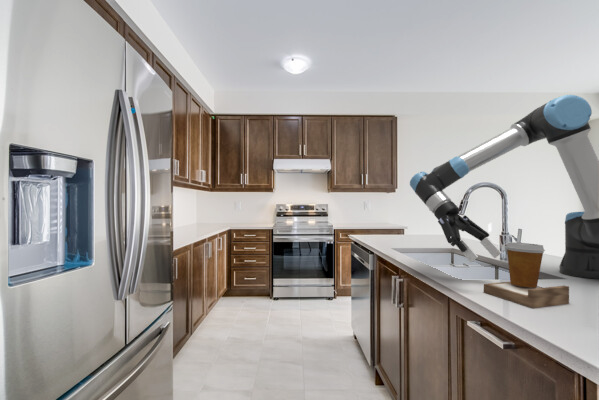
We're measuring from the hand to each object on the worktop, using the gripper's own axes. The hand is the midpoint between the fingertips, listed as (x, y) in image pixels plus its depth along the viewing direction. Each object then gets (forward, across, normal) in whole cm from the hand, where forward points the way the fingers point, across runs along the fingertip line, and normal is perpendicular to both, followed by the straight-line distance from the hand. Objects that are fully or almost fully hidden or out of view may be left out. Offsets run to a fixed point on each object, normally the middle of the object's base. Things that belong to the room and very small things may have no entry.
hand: (486, 257), depth 101 cm
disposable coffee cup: (+11, -3, +1) cm, 12 cm away
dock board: (+14, 0, 0) cm, 14 cm away
